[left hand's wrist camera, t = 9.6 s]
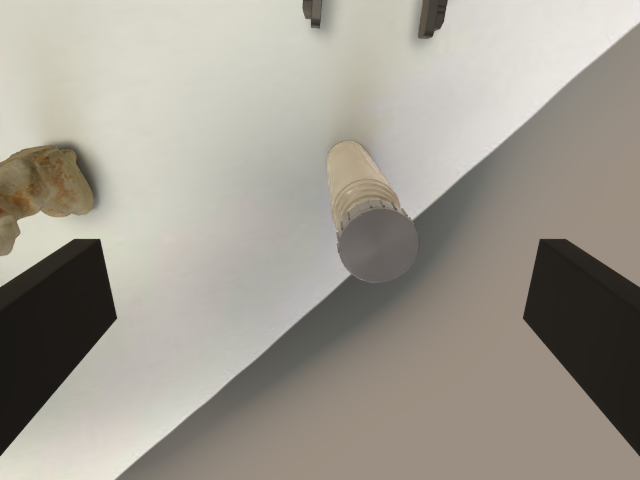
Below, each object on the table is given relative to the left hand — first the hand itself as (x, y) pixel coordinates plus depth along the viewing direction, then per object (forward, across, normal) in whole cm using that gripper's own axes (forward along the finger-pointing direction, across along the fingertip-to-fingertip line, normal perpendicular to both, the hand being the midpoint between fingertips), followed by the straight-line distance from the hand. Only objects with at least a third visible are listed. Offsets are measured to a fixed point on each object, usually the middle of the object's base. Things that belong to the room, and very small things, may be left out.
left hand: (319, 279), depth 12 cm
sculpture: (+30, -26, -4) cm, 39 cm away
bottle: (+30, +3, -2) cm, 30 cm away
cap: (+8, +3, -2) cm, 9 cm away
